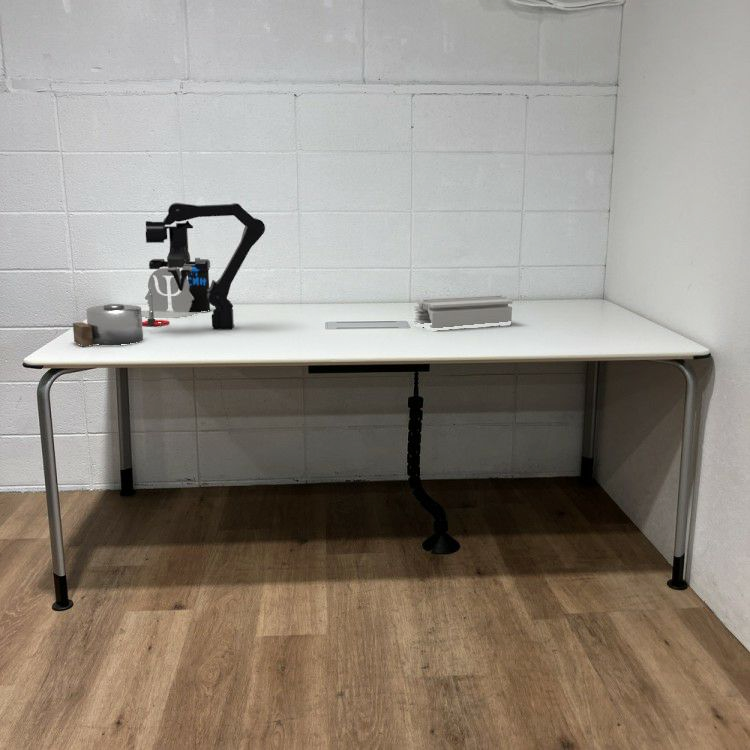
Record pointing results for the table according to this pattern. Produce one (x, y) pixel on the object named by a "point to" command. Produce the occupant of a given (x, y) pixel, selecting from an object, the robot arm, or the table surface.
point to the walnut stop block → (82, 334)
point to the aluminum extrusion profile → (463, 311)
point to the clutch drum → (115, 324)
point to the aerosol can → (199, 289)
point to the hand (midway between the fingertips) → (181, 290)
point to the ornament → (160, 302)
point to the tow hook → (151, 319)
